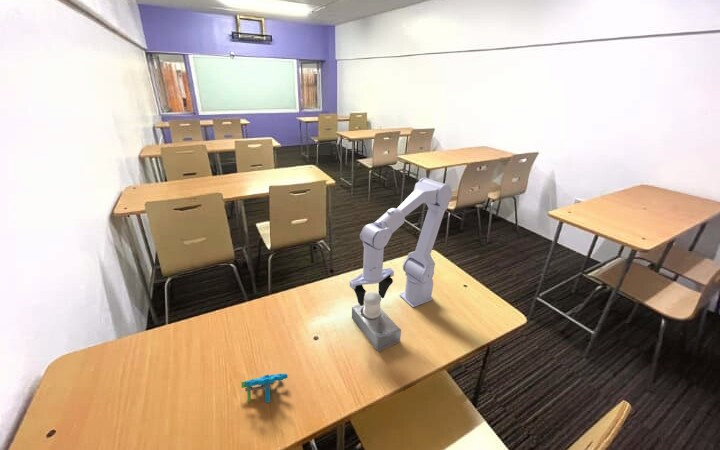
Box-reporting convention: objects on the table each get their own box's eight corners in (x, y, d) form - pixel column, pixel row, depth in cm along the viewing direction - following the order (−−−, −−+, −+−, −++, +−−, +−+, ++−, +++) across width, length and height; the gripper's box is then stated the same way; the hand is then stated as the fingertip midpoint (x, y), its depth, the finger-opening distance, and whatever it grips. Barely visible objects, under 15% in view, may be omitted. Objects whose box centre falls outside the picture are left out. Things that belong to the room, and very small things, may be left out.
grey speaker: (372, 309, 104) (373, 299, 102) (400, 341, 91) (401, 330, 89) (351, 317, 100) (351, 306, 98) (377, 351, 87) (378, 340, 85)
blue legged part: (291, 369, 79) (281, 374, 70) (293, 394, 78) (283, 403, 68) (249, 375, 79) (234, 382, 70) (250, 401, 77) (234, 411, 68)
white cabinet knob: (376, 305, 99) (376, 290, 96) (383, 316, 94) (384, 301, 92) (360, 309, 97) (360, 294, 94) (367, 320, 92) (367, 305, 90)
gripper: (385, 251, 94) (383, 286, 100) (344, 262, 88) (344, 299, 94) (399, 261, 89) (395, 298, 95) (356, 275, 82) (355, 313, 88)
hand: (371, 300), depth 94 cm, fingers open, 7 cm apart
